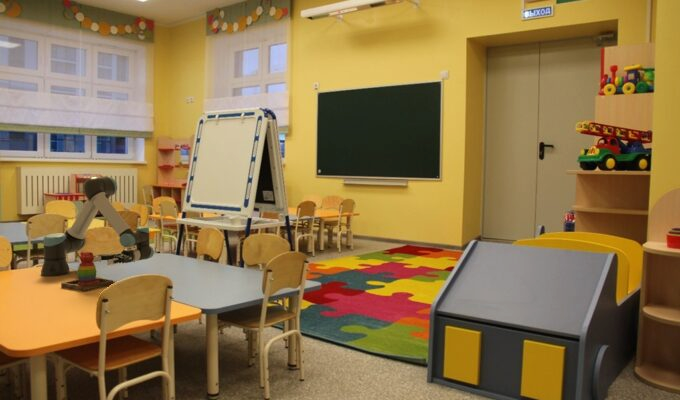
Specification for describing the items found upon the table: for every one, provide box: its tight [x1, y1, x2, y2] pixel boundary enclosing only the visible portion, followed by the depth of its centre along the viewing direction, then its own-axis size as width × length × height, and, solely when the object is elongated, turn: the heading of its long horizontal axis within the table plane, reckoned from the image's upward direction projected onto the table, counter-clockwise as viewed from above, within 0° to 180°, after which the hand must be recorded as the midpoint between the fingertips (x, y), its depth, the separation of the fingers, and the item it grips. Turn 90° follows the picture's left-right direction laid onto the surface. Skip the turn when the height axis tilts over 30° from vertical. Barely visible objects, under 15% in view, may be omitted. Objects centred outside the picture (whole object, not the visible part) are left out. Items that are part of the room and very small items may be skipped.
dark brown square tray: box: [60, 277, 114, 292], centre depth 296 cm, size 18×18×2 cm
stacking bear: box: [76, 251, 101, 286], centre depth 296 cm, size 11×10×18 cm
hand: (99, 261), depth 302 cm, fingers open, 13 cm apart
